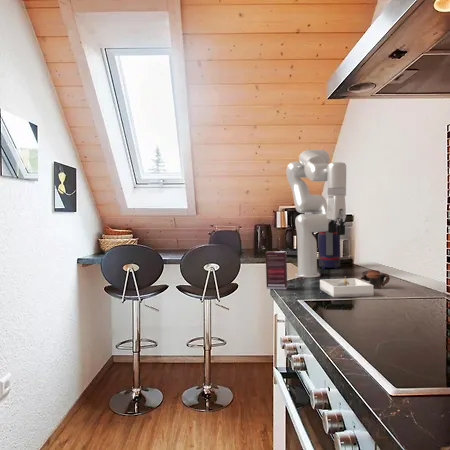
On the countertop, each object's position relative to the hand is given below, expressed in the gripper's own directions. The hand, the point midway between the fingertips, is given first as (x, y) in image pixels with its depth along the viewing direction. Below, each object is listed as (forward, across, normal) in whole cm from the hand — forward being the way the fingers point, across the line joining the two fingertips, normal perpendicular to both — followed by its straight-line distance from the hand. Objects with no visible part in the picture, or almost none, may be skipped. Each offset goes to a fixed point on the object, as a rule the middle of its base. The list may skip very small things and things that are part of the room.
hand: (336, 233), depth 157 cm
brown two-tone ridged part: (+23, 0, +17) cm, 29 cm away
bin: (+23, +9, +1) cm, 24 cm away
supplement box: (+24, -4, -24) cm, 34 cm away
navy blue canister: (+26, -55, +18) cm, 63 cm away
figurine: (+22, +8, 0) cm, 23 cm away
